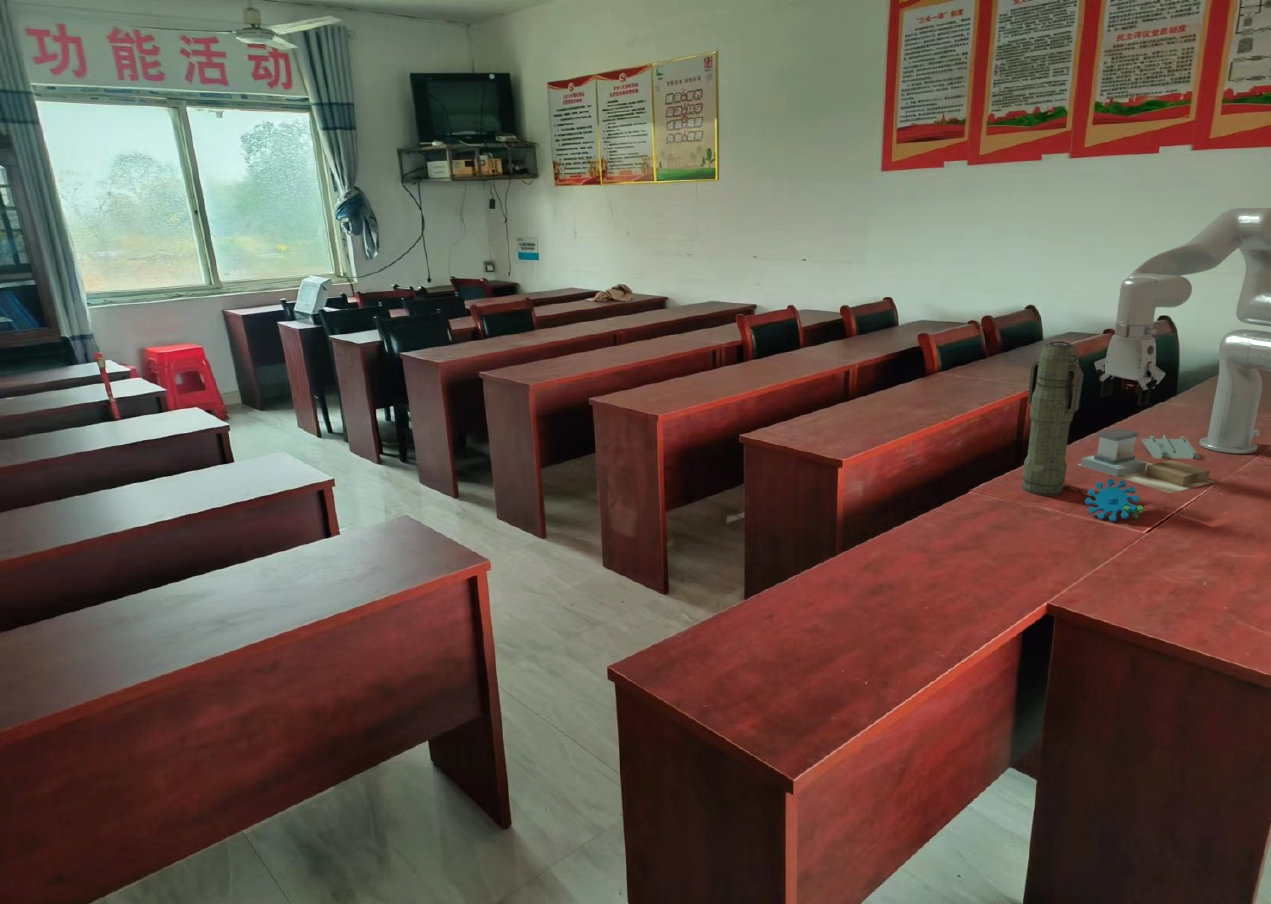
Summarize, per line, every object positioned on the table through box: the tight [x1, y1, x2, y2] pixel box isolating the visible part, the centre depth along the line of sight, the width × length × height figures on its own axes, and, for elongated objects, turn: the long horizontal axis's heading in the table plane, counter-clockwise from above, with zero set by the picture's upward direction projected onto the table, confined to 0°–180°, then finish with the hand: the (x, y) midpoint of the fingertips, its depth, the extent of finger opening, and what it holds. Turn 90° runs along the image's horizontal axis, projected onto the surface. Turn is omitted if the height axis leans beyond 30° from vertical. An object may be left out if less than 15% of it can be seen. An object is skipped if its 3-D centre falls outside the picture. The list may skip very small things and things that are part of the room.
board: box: [1077, 458, 1216, 494], centre depth 195 cm, size 16×24×1 cm, turn 23°
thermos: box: [1021, 341, 1085, 497], centre depth 184 cm, size 9×12×35 cm
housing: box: [1093, 427, 1140, 465], centre depth 197 cm, size 8×5×7 cm, turn 113°
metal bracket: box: [1140, 434, 1212, 461], centre depth 207 cm, size 14×6×15 cm
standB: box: [1080, 454, 1147, 478], centre depth 198 cm, size 10×10×2 cm
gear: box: [1084, 478, 1144, 522], centre depth 172 cm, size 11×6×10 cm
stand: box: [1145, 459, 1211, 487], centre depth 190 cm, size 9×9×2 cm
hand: (1124, 400), depth 194 cm, fingers open, 9 cm apart
